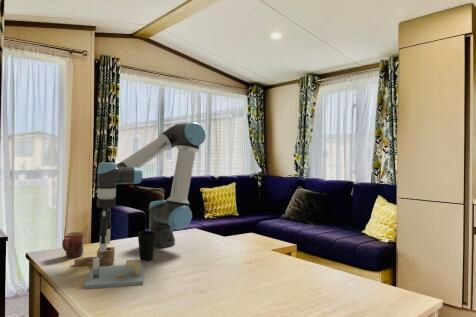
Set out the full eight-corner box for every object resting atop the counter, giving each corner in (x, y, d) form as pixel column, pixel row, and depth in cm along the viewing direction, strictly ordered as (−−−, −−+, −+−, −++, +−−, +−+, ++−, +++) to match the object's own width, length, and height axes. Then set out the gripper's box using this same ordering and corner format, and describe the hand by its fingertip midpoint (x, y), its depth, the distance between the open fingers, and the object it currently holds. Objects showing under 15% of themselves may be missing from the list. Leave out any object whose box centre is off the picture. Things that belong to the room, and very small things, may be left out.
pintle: (99, 276, 134) (99, 257, 134) (98, 278, 132) (99, 259, 132) (93, 276, 134) (93, 257, 134) (92, 278, 131) (92, 259, 131)
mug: (72, 253, 170) (72, 231, 170) (88, 254, 168) (88, 232, 168) (54, 260, 158) (54, 236, 158) (72, 261, 156) (72, 238, 156)
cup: (157, 257, 164) (157, 231, 164) (151, 262, 156) (152, 234, 156) (141, 256, 165) (141, 230, 165) (134, 261, 157) (135, 234, 157)
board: (143, 266, 150) (143, 264, 150) (143, 284, 129) (143, 281, 129) (92, 270, 145) (92, 267, 145) (83, 288, 124) (83, 285, 124)
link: (73, 267, 148) (74, 252, 148) (76, 262, 155) (77, 248, 154) (112, 264, 152) (113, 250, 152) (114, 260, 158) (114, 247, 158)
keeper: (140, 270, 141) (141, 259, 141) (140, 277, 133) (140, 265, 133) (118, 272, 139) (118, 260, 139) (116, 278, 131) (116, 266, 131)
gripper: (100, 195, 165) (99, 241, 165) (92, 201, 141) (91, 255, 141) (117, 195, 167) (116, 240, 167) (112, 201, 143) (111, 254, 143)
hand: (104, 247), depth 154 cm, fingers open, 13 cm apart
